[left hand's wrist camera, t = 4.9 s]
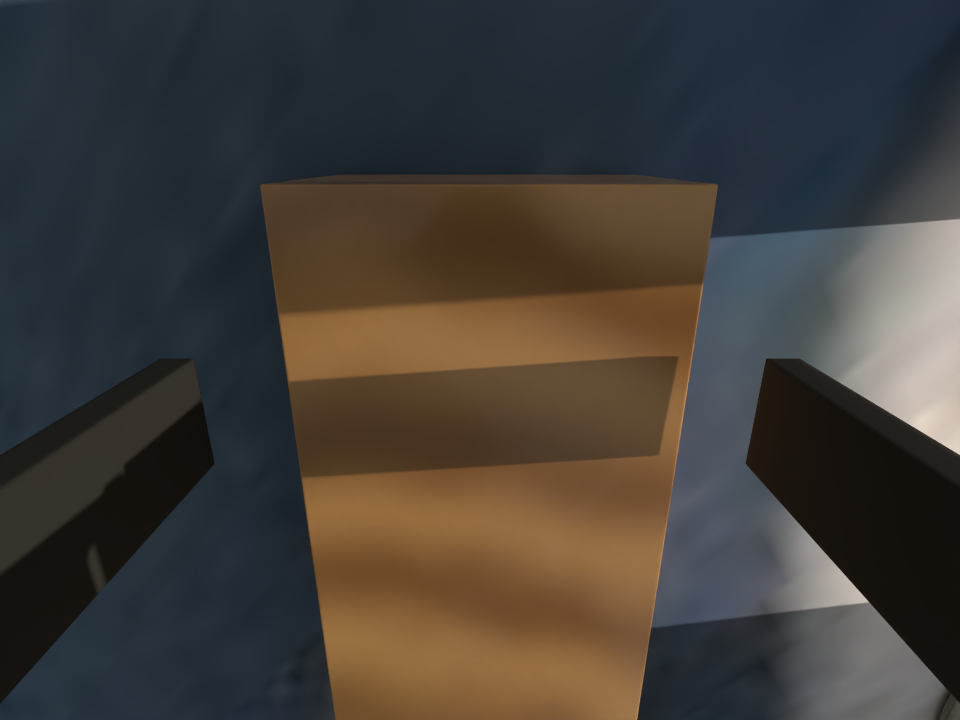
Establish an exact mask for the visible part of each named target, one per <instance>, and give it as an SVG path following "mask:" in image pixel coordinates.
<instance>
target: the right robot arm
mask: <svg viewBox="0 0 960 720" xmlns="http://www.w3.org/2000/svg"><path fill="white" fill-rule="evenodd" d="M939 720H960V703H959V702H958V701H957V700H956V699H955V698H954V696H953V695H952V694H950V696H949V698H948V700H947V701H946V704H945V706H944V708H943V710H942V713H941V716H940V719H939Z"/></svg>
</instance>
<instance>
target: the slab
mask: <svg viewBox="0 0 960 720" xmlns="http://www.w3.org/2000/svg"><path fill="white" fill-rule="evenodd" d="M260 189H261V196H262V203H263V210H264V217H265V224H266V231H267V239H268V246H269V253H270V260H271V267H272V274H273V281H274V288H275V295H276V303H277V310H278V317H279V324H280V331H281V338H282V345H283V352H284V360H285V367H286V374H287V381H288V388H289V395H290V402H291V409H292V417H293V424H294V431H295V438H296V445H297V452H298V459H299V466H300V473H301V481H302V488H303V495H304V502H305V509H306V516H307V523H308V530H309V538H310V545H311V552H312V559H313V566H314V573H315V580H316V587H317V595H318V602H319V609H320V616H321V623H322V630H323V637H324V644H325V651H326V659H327V666H328V673H329V680H330V687H331V694H332V701H333V708H334V716H335V720H637V716H638V710H639V703H640V697H641V690H642V683H643V677H644V670H645V664H646V657H647V651H648V644H649V637H650V631H651V624H652V618H653V611H654V605H655V598H656V591H657V585H658V578H659V572H660V565H661V559H662V552H663V545H664V539H665V532H666V526H667V519H668V512H669V506H670V499H671V493H672V486H673V480H674V473H675V466H676V460H677V453H678V447H679V440H680V434H681V427H682V420H683V414H684V407H685V401H686V394H687V388H688V381H689V374H690V368H691V361H692V355H693V348H694V342H695V335H696V328H697V322H698V315H699V309H700V302H701V295H702V289H703V282H704V276H705V269H706V263H707V256H708V249H709V243H710V236H711V230H712V223H713V217H714V210H715V203H716V197H717V190H718V185H717V184H711V183H703V182H694V181H686V180H677V179H668V178H660V177H651V176H643V175H331V176H323V177H315V178H307V179H299V180H290V181H282V182H274V183H266V184H261V185H260Z"/></svg>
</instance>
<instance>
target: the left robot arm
mask: <svg viewBox="0 0 960 720" xmlns="http://www.w3.org/2000/svg"><path fill="white" fill-rule="evenodd" d="M213 465H214V459H213V454H212V449H211V444H210V439H209V434H208V429H207V424H206V419H205V414H204V408H203V403H202V398H201V393H200V388H199V383H198V378H197V373H196V368H195V362H194V359H159V360H157V361H156V362H154V363H152V364H151V365H149V366H147V367H146V368H144V369H143V370H141V371H139V372H138V373H136V374H134V375H133V376H131V377H129V378H128V379H126V380H124V381H123V382H121V383H119V384H118V385H116V386H114V387H113V388H111V389H109V390H108V391H106V392H104V393H103V394H101V395H99V396H98V397H96V398H94V399H93V400H91V401H89V402H88V403H86V404H84V405H83V406H81V407H79V408H78V409H76V410H74V411H73V412H71V413H69V414H68V415H66V416H64V417H63V418H61V419H59V420H58V421H56V422H54V423H53V424H51V425H50V426H48V427H46V428H45V429H43V430H41V431H40V432H38V433H36V434H35V435H33V436H31V437H30V438H28V439H26V440H25V441H23V442H21V443H20V444H18V445H16V446H15V447H13V448H11V449H10V450H8V451H6V452H5V453H3V454H1V455H0V703H1V702H2V701H3V700H4V699H5V698H6V696H7V695H8V694H9V693H10V692H11V691H12V690H13V689H14V687H15V686H16V685H17V684H18V683H19V682H20V681H21V680H22V678H23V677H24V676H25V675H26V674H27V673H28V672H29V671H30V670H31V668H32V667H33V666H34V665H35V664H36V663H37V662H38V661H39V659H40V658H41V657H42V656H43V655H44V654H45V653H46V652H47V650H48V649H49V648H50V647H51V646H52V645H53V644H54V643H55V642H56V640H57V639H58V638H59V637H60V636H61V635H62V634H63V633H64V631H65V630H66V629H67V628H68V627H69V626H70V625H71V624H72V622H73V621H74V620H75V619H76V618H77V617H78V616H79V615H80V614H81V612H82V611H83V610H84V609H85V608H86V607H87V606H88V605H89V603H90V602H91V601H92V600H93V599H94V598H95V597H96V596H97V595H98V593H99V592H100V591H101V590H102V589H103V588H104V587H105V586H106V584H107V583H108V582H109V581H110V580H111V579H112V578H113V577H114V575H115V574H116V573H117V572H118V571H119V570H120V569H121V568H122V567H123V565H124V564H125V563H126V562H127V561H128V560H129V559H130V558H131V556H132V555H133V554H134V553H135V552H136V551H137V550H138V549H139V547H140V546H141V545H142V544H143V543H144V542H145V541H146V540H147V539H148V537H149V536H150V535H151V534H152V533H153V532H154V531H155V530H156V528H157V527H158V526H159V525H160V524H161V523H162V522H163V521H164V520H165V518H166V517H167V516H168V515H169V514H170V513H171V512H172V511H173V509H174V508H175V507H176V506H177V505H178V504H179V503H180V502H181V500H182V499H183V498H184V497H185V496H186V495H187V494H188V493H189V492H190V490H191V489H192V488H193V487H194V486H195V485H196V484H197V483H198V481H199V480H200V479H201V478H202V477H203V476H204V475H205V474H206V472H207V471H208V470H209V469H210V468H211V467H212V466H213ZM746 465H747V466H748V467H749V468H750V469H751V470H752V471H753V472H754V474H755V475H756V476H757V477H758V478H759V479H760V480H761V481H762V483H763V484H764V485H765V486H766V487H767V488H768V489H769V490H770V492H771V493H772V494H773V495H774V496H775V497H776V498H777V499H778V500H779V502H780V503H781V504H782V505H783V506H784V507H785V508H786V509H787V511H788V512H789V513H790V514H791V515H792V516H793V517H794V518H795V520H796V521H797V522H798V523H799V524H800V525H801V526H802V527H803V528H804V530H805V531H806V532H807V533H808V534H809V535H810V536H811V537H812V539H813V540H814V541H815V542H816V543H817V544H818V545H819V546H820V547H821V549H822V550H823V551H824V552H825V553H826V554H827V555H828V556H829V558H830V559H831V560H832V561H833V562H834V563H835V564H836V565H837V567H838V568H839V569H840V570H841V571H842V572H843V573H844V574H845V575H846V577H847V578H848V579H849V580H850V581H851V582H852V583H853V584H854V586H855V587H856V588H857V589H858V590H859V591H860V592H861V593H862V595H863V596H864V597H865V598H866V599H867V600H868V601H869V602H870V603H871V605H872V606H873V607H874V608H875V609H876V610H877V611H878V612H879V614H880V615H881V616H882V617H883V618H884V619H885V620H886V621H887V622H888V624H889V625H890V626H891V627H892V628H893V629H894V630H895V631H896V633H897V634H898V635H899V636H900V637H901V638H902V639H903V640H904V642H905V643H906V644H907V645H908V646H909V647H910V648H911V649H912V650H913V652H914V653H915V654H916V655H917V656H918V657H919V658H920V659H921V661H922V662H923V663H924V664H925V665H926V666H927V667H928V668H929V670H930V671H931V672H932V673H933V674H934V675H935V676H936V677H937V678H938V680H939V681H940V682H941V683H942V684H943V685H944V686H945V687H946V689H947V690H948V691H949V692H950V693H951V694H952V695H953V696H954V698H955V699H956V700H957V701H958V702H959V703H960V455H959V454H957V453H955V452H954V451H952V450H950V449H949V448H947V447H945V446H944V445H942V444H940V443H939V442H937V441H935V440H934V439H932V438H930V437H929V436H927V435H925V434H924V433H922V432H920V431H919V430H917V429H915V428H914V427H912V426H910V425H909V424H907V423H906V422H904V421H902V420H901V419H899V418H897V417H896V416H894V415H892V414H891V413H889V412H887V411H886V410H884V409H882V408H881V407H879V406H877V405H876V404H874V403H872V402H871V401H869V400H867V399H866V398H864V397H862V396H861V395H859V394H857V393H856V392H854V391H852V390H851V389H849V388H847V387H846V386H844V385H842V384H841V383H839V382H837V381H836V380H834V379H832V378H831V377H829V376H827V375H826V374H824V373H822V372H821V371H819V370H817V369H816V368H814V367H813V366H811V365H809V364H808V363H806V362H804V361H803V360H801V359H766V362H765V368H764V373H763V378H762V383H761V388H760V393H759V398H758V403H757V408H756V414H755V419H754V424H753V429H752V434H751V439H750V444H749V449H748V454H747V459H746Z"/></svg>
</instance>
